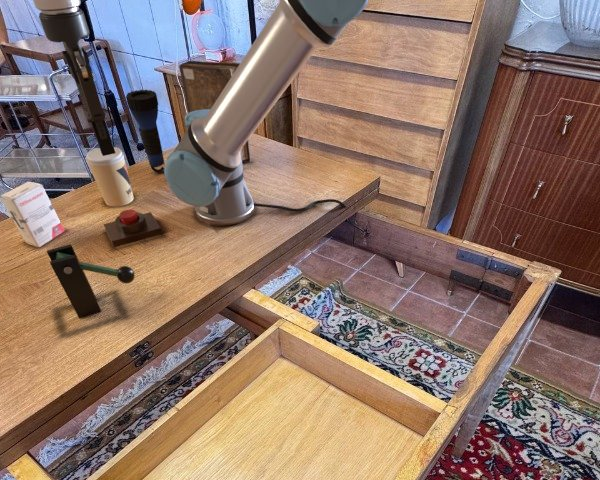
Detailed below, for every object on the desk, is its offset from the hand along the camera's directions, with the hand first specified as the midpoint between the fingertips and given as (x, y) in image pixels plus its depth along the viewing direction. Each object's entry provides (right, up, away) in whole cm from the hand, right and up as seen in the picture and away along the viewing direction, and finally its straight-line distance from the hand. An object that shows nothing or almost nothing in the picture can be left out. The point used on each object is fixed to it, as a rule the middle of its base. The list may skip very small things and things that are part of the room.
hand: (108, 153), depth 95 cm
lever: (+2, -29, -9) cm, 31 cm away
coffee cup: (-8, +2, +26) cm, 28 cm away
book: (+18, +20, +41) cm, 49 cm away
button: (0, -10, +12) cm, 15 cm away
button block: (0, -12, +15) cm, 19 cm away
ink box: (-22, -13, +15) cm, 30 cm away
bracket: (-2, -36, -5) cm, 36 cm away
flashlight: (0, +15, +37) cm, 40 cm away
